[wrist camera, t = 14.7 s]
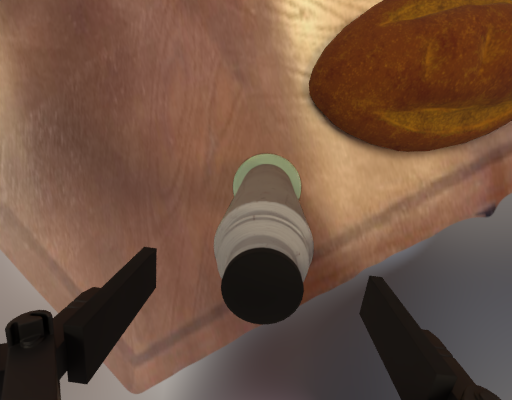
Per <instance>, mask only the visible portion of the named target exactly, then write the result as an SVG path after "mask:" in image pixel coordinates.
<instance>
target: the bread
mask: <svg viewBox="0 0 512 400" xmlns="http://www.w3.org/2000/svg"><path fill="white" fill-rule="evenodd" d="M309 91H310V96H311V98H312V100H313V101H314V103H315V105H316V106H317V107H318V108H319V109H320V110H321V111H322V112H323V113H324V114H325V115H326V116H327V117H328V119H329V120H330V121H331V122H332V123H333V124H335V125H336V126H338V127H339V128H340V129H342V130H343V131H345V132H346V133H348V134H351V135H353V136H355V137H357V138H359V139H361V140H364V141H366V142H368V143H370V144H374V145H377V146H381V147H385V148H389V149H393V150H397V151H406V152H410V151H430V150H435V149H439V148H444V147H448V146H453V145H458V144H462V143H465V142H468V141H470V140H473V139H476V138H478V137H481V136H483V135H486V134H488V133H490V132H492V131H494V130H496V129H498V128H499V127H501V126H503V125H505V124H507V123H508V122H510V121H512V0H384V1H382V2H380V3H378V4H376V5H374V6H373V7H372V8H370V9H369V10H368V11H366V12H365V13H364V14H362V15H361V16H360V17H358V18H357V19H355V20H354V21H353V22H351V23H350V24H349V25H347V26H346V27H345V28H344V29H343V30H342V31H341V32H340V33H339V34H338V35H337V36H336V37H335V38H334V39H333V40H332V41H331V43H330V44H329V45H328V46H327V47H326V48H325V49H324V51H323V53H322V54H321V56H320V58H319V60H318V61H317V63H316V65H315V66H314V68H313V71H312V74H311V78H310V81H309Z"/></svg>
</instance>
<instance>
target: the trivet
mask: <svg viewBox="0 0 512 400" xmlns="http://www.w3.org/2000/svg"><path fill="white" fill-rule="evenodd" d="M261 164H273V165H276V166H278V167H280V168H281V169H283V170H284V171H285V172H286V174H287V175H288V176H289V179H290V181H291V183H292V186H293V188H294V192H295V194H296V196H297V198H298V200H299V197H300V194H301V181H300V177H299V174H298V172H297V170H296V169H295V167H294V166H293V165H292V164H291V163H290V162H289V161H288V160H287V159H285V158H283V157H281V156H279V155H276V154H269V153H265V154H258V155H255V156H253V157H251V158H249V159H248V160H246V161H245V162H244V163H243V164H242V165H241V166H240V167H239V169H238V171H237V172H236V175H235V177H234V181H233V193H234V196H235V195H236V193H237V191H238V189H239V187H240V185H241V183H242V181H243V179H244V177H245V176H246V174H247V173H248V172H249V171H250V170H251V169H252V168H254V167H256V166H258V165H261Z"/></svg>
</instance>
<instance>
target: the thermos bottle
mask: <svg viewBox="0 0 512 400" xmlns="http://www.w3.org/2000/svg"><path fill="white" fill-rule="evenodd" d="M313 252H314V245H313V238H312V234H311V231H310V228H309V226H308V223H307V221H306V218H305V216H304V213H303V211H302V208H301V206H300V203H299V201H298V198H297V196H296V194H295V192H294V188H293V186H292V183H291V181H290V179H289V176H288V175H287V174H286V172H285V171H284V170H283V169H281V168H280V167H278V166H276V165H273V164H261V165H258V166H256V167H254V168H252V169H251V170H250V171H249V172H248V173H247V174H246V176H245V177H244V179H243V181H242V183H241V185H240V187H239V189H238V191H237V193H236V195H235V196H234V198H233V200H232V202H231V204H230V206H229V208H228V209H227V211H226V213H225V215H224V217H223V219H222V221H221V223H220V224H219V226H218V228H217V231H216V235H215V238H214V253H215V258H216V261H217V266H218V271H219V274H220V277H221V278H222V283H221V291H222V296H223V299H224V302H225V303H226V305H227V307H228V308H229V309H230V310H231V311H232V312H233V313H234V314H235V315H236V316H238V317H239V318H241V319H243V320H245V321H247V322H250V323H254V324H272V323H277V322H279V321H282V320H284V319H286V318H287V317H289V316H290V315H291V314H293V313H294V312H295V311H296V309H297V308H298V306H299V305H300V303H301V300H302V297H303V292H304V290H303V282H304V280H305V277H306V275H307V272H308V268H309V266H310V263H311V261H312V257H313Z"/></svg>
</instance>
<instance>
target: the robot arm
mask: <svg viewBox="0 0 512 400" xmlns="http://www.w3.org/2000/svg"><path fill="white" fill-rule="evenodd" d="M156 252H157V248H149V247H144V248H143V249H142V250H140V251H139V252H138V253H137V254H136V255H135V256H134V257H133V258H132V259H131V260H130V261H129V262H128V263H127V264H126V265H125V266H124V267H123V268H122V269H121V270H120V271H118V272H117V273H116V274H115V275H114V276H113V277H112V278H111V279H110V280H109V281H108V282H107V283H106V284H105V285H104V286H103V287H102V288H96V287H92V288H90V289H89V290H87V291H85V292H83V293H81V294H80V295H79V296H78V297H77V298H76V299H75V300H74V301H72V302H71V303H70V304H69V305H68V306H67V307H65V308H64V309H63V310H62V311H61V312H60V313H59V314H57V315H56V316H55V317H54V318H52V314H51V313H50V312H48V311H46V310H36V311H30V312H27V313H24V314H21V315H20V316H18V317H16V318H14V319H13V320H12V321H10V322H9V323H8V324H7V326H6V328H5V332H6V337H7V343H4V344H0V400H61V395H60V381H59V380H60V379H61V377H62V376H63V375H64V374H65V373H66V371H67V372H68V382H75V383H82V384H88V382H89V381H90V379H91V378H92V377H93V375H94V374H95V372H96V371H97V370H98V368H99V367H100V365H101V364H102V363H103V361H104V360H105V358H106V357H107V356H108V354H109V353H110V351H111V350H112V349H113V347H114V346H115V344H116V343H117V342H118V340H119V339H120V337H121V336H122V334H123V333H124V332H125V330H126V329H127V327H128V326H129V325H130V323H131V322H132V320H133V319H134V318H135V316H136V315H137V313H138V312H139V311H140V309H141V308H142V306H143V305H144V303H145V302H146V301H147V299H148V298H149V296H150V295H151V294H152V292H153V291H154V289H155V288H156ZM360 316H361V318H362V320H363V322H364V324H365V326H366V328H367V330H368V332H369V334H370V336H371V339H372V340H373V343H374V345H375V347H376V349H377V351H378V353H379V355H380V357H381V359H382V361H383V363H384V365H385V367H386V369H387V371H388V373H389V375H390V378H391V380H392V381H393V384H394V386H395V388H396V390H397V392H398V394H399V396H400V398H401V400H501V399H500V398H499V397H497V395H495V394H494V393H492V392H490V391H489V390H487V389H485V388H483V387H481V386H477V385H476V384H475V383H474V382H473V380H472V379H471V378H470V377H469V375H468V374H467V373H466V372H465V371H464V369H463V368H462V367H461V366H460V364H459V363H458V362H457V361H456V359H455V358H453V356H452V354H451V353H450V352H449V351H448V350H447V349H446V347H445V346H444V345H443V344H442V342H441V341H440V340H439V339H438V338H437V337H436V336H435V335H434V334H432V333H431V332H430V331H429V330H423V329H421V328H420V327H419V325H418V324H417V323H416V321H415V320H414V319H413V318H412V316H411V315H410V314H409V312H408V311H407V310H406V308H405V307H404V306H403V304H402V303H401V302H400V300H399V299H398V298H397V296H396V295H395V294H394V292H393V291H392V290H391V289H390V287H389V286H388V285H387V283H386V282H385V281H384V279H383V278H382V277H376V276H369V280H368V283H367V287H366V291H365V295H364V298H363V302H362V306H361V310H360Z"/></svg>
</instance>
